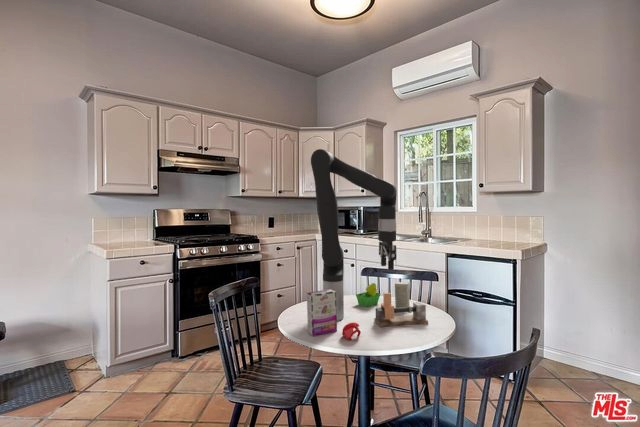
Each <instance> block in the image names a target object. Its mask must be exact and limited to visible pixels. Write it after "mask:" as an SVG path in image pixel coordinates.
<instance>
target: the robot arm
mask: <svg viewBox="0 0 640 427" xmlns="http://www.w3.org/2000/svg"><path fill="white" fill-rule="evenodd" d="M310 165H311V169H312V174H313V179H314V187H315V200H316V211H317V212H316V213H317V218H318V224H319V229H320V235H321V259H322V261H323V262H322V264H323V265H322V266H323V268H322V290H328V289H332V290H334V291H336V314H337V315H336V316H337V322H338V321H342V320H343V319H344V317H345V313H344V309H345V308H344V272H345V269H344V267H345V266H344V262H345V261H344V250H343V248H342V247H341V243H340V239H339V205H338V198H337V196H336V192H335V189H334V187H333V184H332V179H331V173H332V174H335V175H337V176H339V177H341V178H343V179H345V180H346V181H347V182H350V183H351V184H354V185H355V186H358V187H360V188H361V189H363V190H366V191H368V192H371V194H374V195H375V196H378V197H379V198H380V199H379V200H380V202H379V204H380V205H379V207H378V208H379V209H378V227H377V228H378V229H377V231H378V232H377V235H378V236H377V239H378V241H379V242H378V255H379V258H380V266H381V267H386V266H387V269H388V270H389V271H393V270H394V269H395V268H394V267H395V264H394V262H395V261H396V260H397V245H394V244H393V242H396V241H397V218H396V216H397V215H396V214H397V211H396V210H397V209H396V204H397V187H396V185H394V184H393V183H391V182H389V181H386V180H384V179H382V178H379V177H376V176H375V175H374V174H372V173H369V172H368V171H365V170H363V169H361V168H358V167H357V166H354V165H351V164H348V163H346V162H345V161H343V160H341V159H339V158H338V157H337V156H335V155H334V154H333V153H331V152H330V151H329V150H325V149H322V148H319V149H316V150H314V151H313V152H312V154H311V156H310ZM387 260H388V261H387Z"/></svg>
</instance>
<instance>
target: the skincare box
mask: <svg viewBox="0 0 640 427" xmlns="http://www.w3.org/2000/svg"><path fill="white" fill-rule="evenodd" d="M394 302H395V303H394V304H395V306H394V308H402V307H407V306H410V282H404V281H396V282H395V283H394Z"/></svg>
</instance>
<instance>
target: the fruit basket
mask: <svg viewBox="0 0 640 427" xmlns="http://www.w3.org/2000/svg"><path fill="white" fill-rule="evenodd" d="M380 296H381V293H379V292H378V289H377V284H376V283H374V282H372V283H371V284H369V285H368V286H366V288H365V292H361V293H356V294H355V297H356V300H357V303H358V305H359V306H361V307H369V306H373V305H377V304H378V303H379V300H380Z"/></svg>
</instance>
